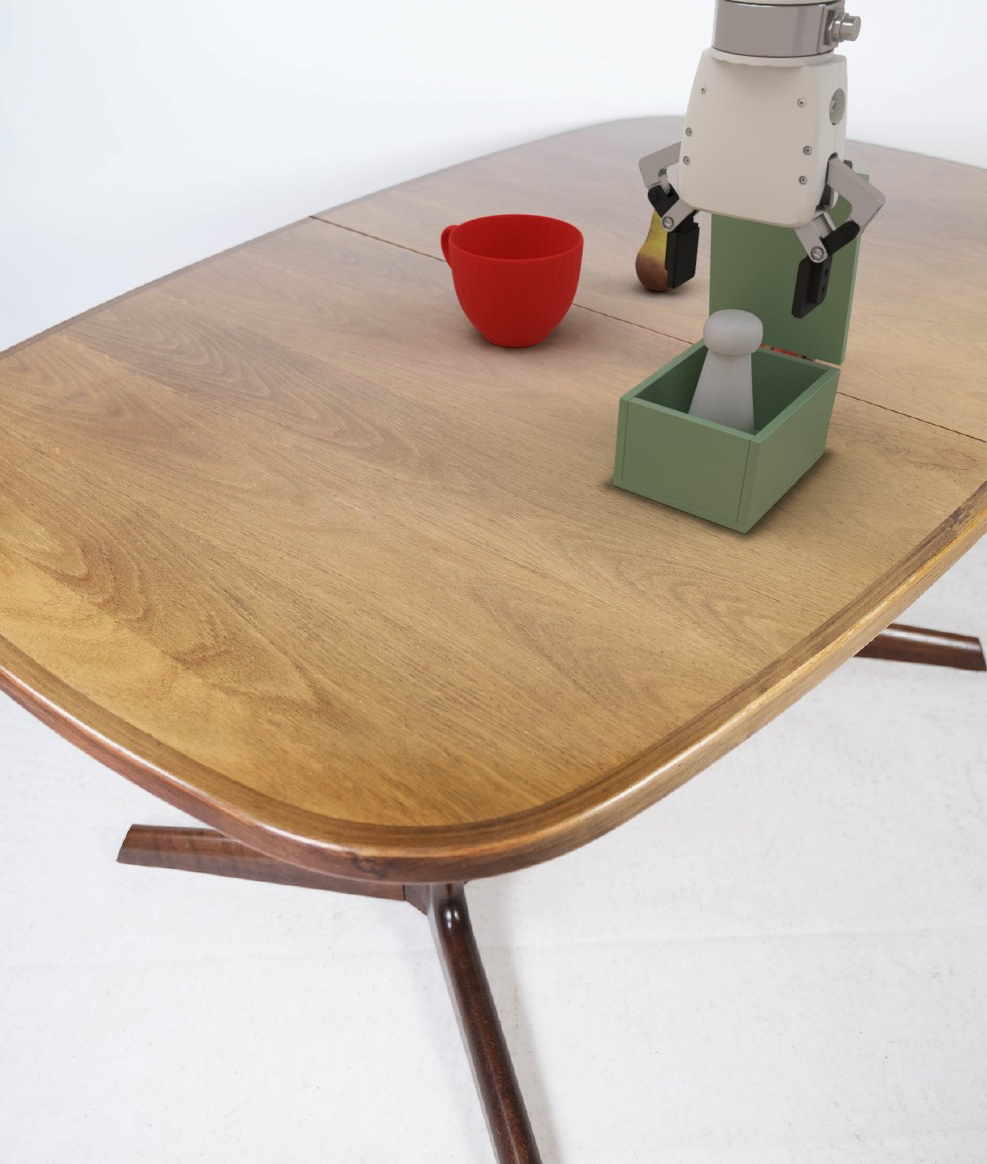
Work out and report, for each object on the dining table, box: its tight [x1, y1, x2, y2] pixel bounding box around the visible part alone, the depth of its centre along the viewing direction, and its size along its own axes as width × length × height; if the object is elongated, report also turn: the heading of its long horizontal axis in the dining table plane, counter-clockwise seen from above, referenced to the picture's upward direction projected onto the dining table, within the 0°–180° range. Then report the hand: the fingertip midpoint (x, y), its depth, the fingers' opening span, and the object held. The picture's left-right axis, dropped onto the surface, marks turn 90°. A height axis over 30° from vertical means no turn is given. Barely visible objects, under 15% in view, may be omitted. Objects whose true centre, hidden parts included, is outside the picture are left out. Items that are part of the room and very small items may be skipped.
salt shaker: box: [688, 309, 763, 436], centre depth 82 cm, size 6×6×13 cm
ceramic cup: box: [440, 213, 584, 348], centre depth 107 cm, size 13×17×10 cm
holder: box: [612, 337, 842, 535], centre depth 86 cm, size 15×12×8 cm
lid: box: [708, 158, 870, 367], centre depth 83 cm, size 15×12×5 cm
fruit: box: [634, 208, 673, 292], centre depth 115 cm, size 6×6×12 cm
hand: (740, 296), depth 77 cm, fingers open, 9 cm apart
